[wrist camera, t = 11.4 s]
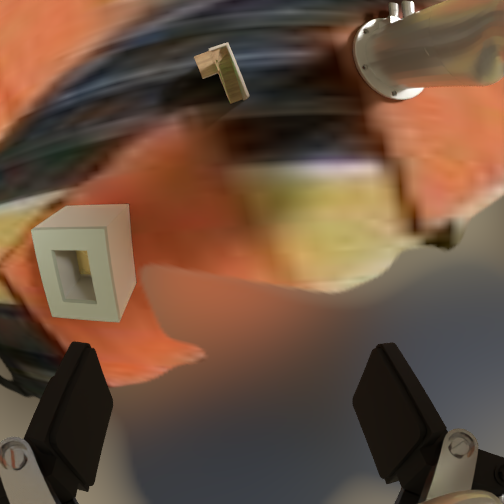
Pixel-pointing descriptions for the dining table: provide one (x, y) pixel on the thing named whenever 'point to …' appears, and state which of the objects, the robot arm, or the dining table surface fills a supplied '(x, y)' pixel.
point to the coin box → (100, 260)
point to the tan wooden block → (83, 262)
